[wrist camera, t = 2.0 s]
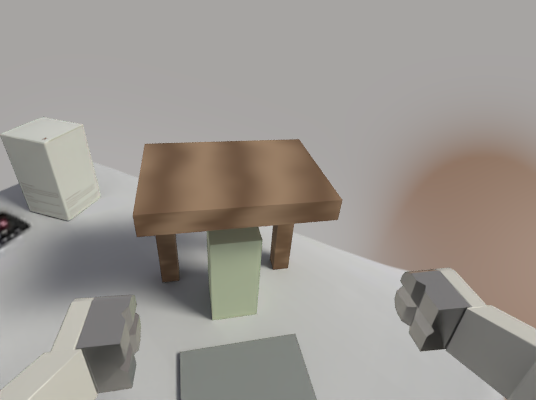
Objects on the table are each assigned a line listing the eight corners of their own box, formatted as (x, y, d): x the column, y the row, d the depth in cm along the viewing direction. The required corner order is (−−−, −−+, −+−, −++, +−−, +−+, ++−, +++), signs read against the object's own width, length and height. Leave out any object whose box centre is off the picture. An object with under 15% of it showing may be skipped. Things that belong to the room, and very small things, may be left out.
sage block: (212, 320, 38) (209, 245, 32) (208, 286, 42) (205, 213, 36) (256, 314, 39) (262, 240, 33) (249, 281, 43) (252, 210, 37)
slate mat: (181, 473, 26) (181, 471, 26) (180, 354, 34) (180, 352, 34) (328, 439, 29) (329, 437, 29) (294, 335, 37) (295, 333, 37)
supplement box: (103, 197, 56) (85, 123, 49) (68, 222, 50) (43, 143, 43) (65, 187, 58) (43, 115, 51) (27, 211, 52) (-4, 133, 45)
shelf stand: (159, 357, 34) (132, 215, 24) (163, 270, 43) (144, 143, 34) (312, 333, 37) (342, 200, 28) (284, 257, 47) (298, 139, 37)
